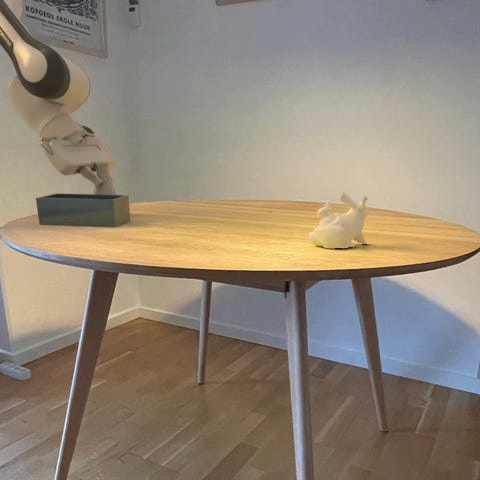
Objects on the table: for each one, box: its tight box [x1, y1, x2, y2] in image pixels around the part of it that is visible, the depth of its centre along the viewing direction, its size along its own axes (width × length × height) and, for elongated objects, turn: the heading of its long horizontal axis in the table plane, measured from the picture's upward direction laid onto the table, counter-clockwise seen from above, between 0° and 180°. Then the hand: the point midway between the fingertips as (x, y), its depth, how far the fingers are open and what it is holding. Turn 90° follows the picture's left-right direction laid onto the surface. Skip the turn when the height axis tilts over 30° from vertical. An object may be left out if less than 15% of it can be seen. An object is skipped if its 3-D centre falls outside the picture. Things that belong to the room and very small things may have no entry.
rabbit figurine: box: [308, 191, 371, 249], centre depth 81 cm, size 12×8×10 cm, turn 89°
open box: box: [35, 192, 131, 228], centre depth 103 cm, size 17×9×6 cm, turn 83°
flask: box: [92, 162, 118, 195], centre depth 111 cm, size 7×7×10 cm
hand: (106, 183), depth 110 cm, fingers closed on flask, 3 cm apart
